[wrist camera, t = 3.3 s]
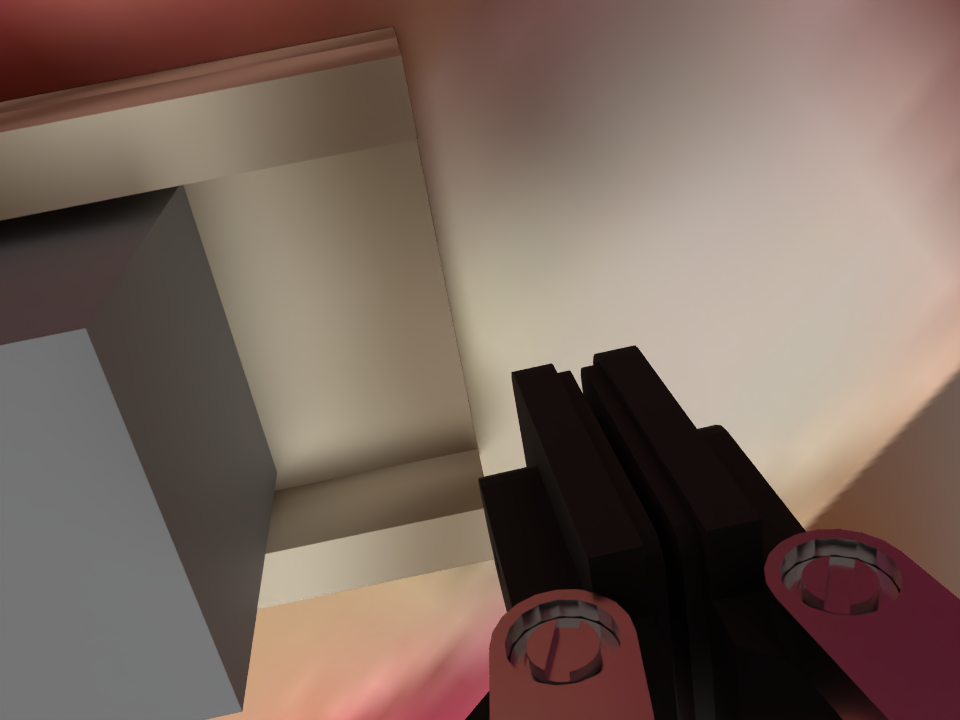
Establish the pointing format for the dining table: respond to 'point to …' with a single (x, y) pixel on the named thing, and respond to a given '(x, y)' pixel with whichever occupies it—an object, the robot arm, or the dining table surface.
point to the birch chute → (299, 286)
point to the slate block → (124, 470)
